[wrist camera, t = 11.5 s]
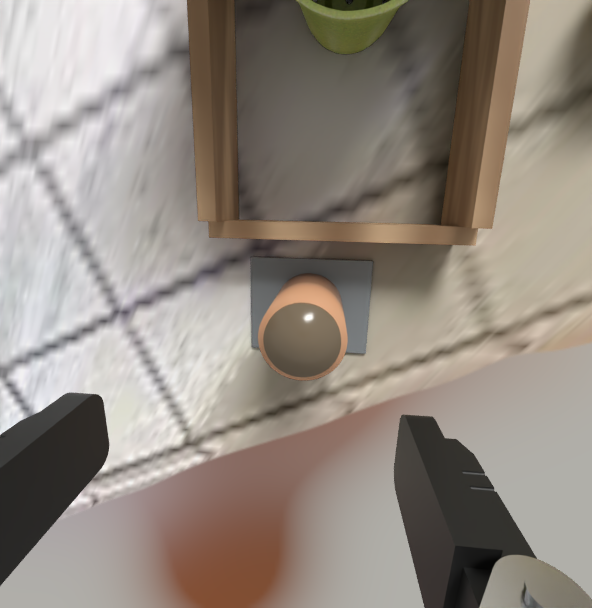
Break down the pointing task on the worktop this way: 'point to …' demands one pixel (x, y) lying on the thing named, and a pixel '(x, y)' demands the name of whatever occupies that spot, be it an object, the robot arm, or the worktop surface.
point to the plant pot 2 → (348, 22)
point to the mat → (342, 273)
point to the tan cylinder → (304, 328)
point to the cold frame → (464, 146)
